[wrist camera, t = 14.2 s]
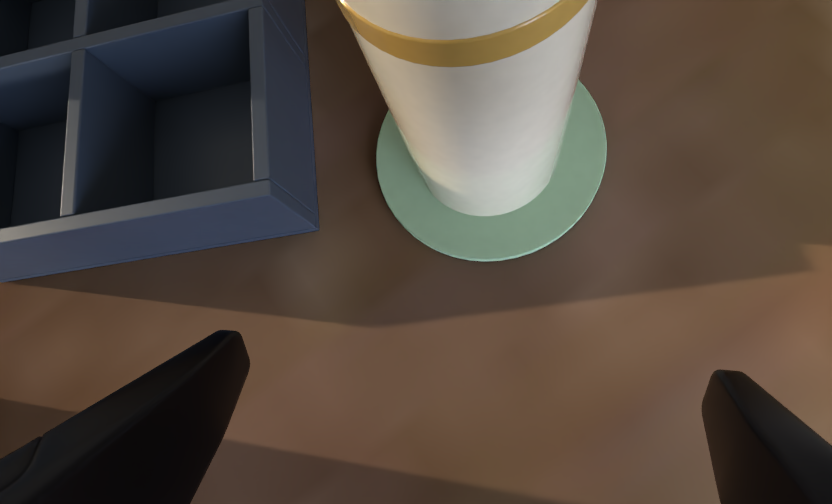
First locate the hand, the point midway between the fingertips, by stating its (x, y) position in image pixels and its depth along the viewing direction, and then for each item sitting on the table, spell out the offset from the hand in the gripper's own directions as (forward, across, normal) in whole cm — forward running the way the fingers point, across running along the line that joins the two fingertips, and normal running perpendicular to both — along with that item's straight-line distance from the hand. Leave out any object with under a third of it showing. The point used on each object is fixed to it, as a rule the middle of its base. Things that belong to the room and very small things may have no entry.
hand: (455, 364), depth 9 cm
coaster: (+12, 0, 0) cm, 12 cm away
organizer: (+14, +16, -2) cm, 21 cm away
